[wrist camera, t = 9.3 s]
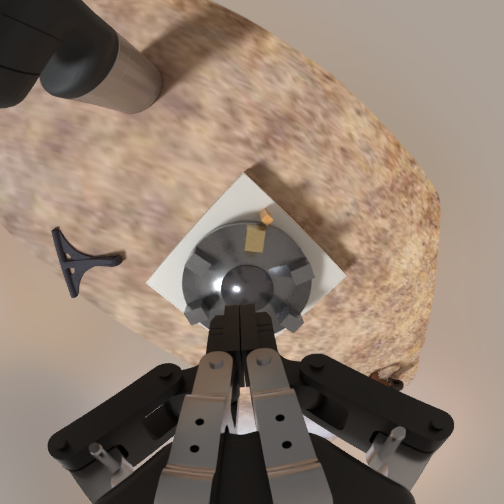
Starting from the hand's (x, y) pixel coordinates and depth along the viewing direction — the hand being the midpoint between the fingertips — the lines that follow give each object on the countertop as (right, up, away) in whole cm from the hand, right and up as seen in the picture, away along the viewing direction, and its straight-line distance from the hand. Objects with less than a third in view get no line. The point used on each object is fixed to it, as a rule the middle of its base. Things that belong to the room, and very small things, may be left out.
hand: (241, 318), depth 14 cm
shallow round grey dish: (0, -1, +30) cm, 30 cm away
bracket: (-30, +2, +32) cm, 44 cm away
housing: (0, 0, +33) cm, 33 cm away
